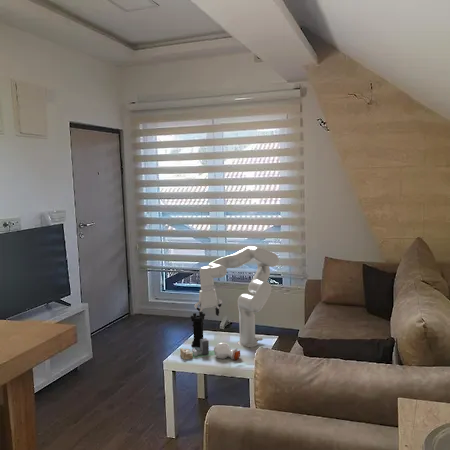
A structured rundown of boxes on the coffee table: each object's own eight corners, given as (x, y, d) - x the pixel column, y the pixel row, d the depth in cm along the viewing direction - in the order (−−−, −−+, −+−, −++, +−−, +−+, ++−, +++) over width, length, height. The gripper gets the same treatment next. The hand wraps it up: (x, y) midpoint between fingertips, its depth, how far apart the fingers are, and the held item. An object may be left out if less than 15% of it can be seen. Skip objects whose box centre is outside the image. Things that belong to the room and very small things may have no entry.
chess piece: (203, 349, 284) (202, 316, 282) (190, 348, 286) (189, 316, 284) (206, 345, 292) (205, 313, 290) (194, 344, 293) (193, 312, 292)
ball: (183, 349, 270) (183, 355, 270) (185, 351, 267) (185, 358, 267) (189, 349, 271) (189, 355, 271) (191, 351, 268) (191, 357, 268)
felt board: (219, 351, 280) (219, 349, 280) (223, 355, 273) (223, 353, 273) (180, 357, 272) (180, 355, 272) (183, 361, 265) (183, 359, 264)
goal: (188, 353, 274) (188, 347, 273) (192, 358, 266) (192, 351, 266) (180, 355, 272) (180, 348, 271) (184, 359, 264) (183, 352, 264)
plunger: (206, 351, 275) (206, 338, 275) (208, 354, 271) (208, 340, 271) (192, 353, 273) (192, 340, 272) (194, 356, 268) (194, 342, 268)
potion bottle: (214, 358, 272) (238, 366, 265) (208, 353, 264) (232, 361, 257) (220, 343, 276) (243, 350, 269) (214, 338, 268) (238, 344, 261)
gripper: (219, 284, 279) (221, 312, 281) (191, 288, 273) (193, 317, 275) (223, 287, 272) (225, 315, 274) (195, 291, 266) (197, 320, 268)
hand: (209, 316), depth 275 cm, fingers open, 9 cm apart
